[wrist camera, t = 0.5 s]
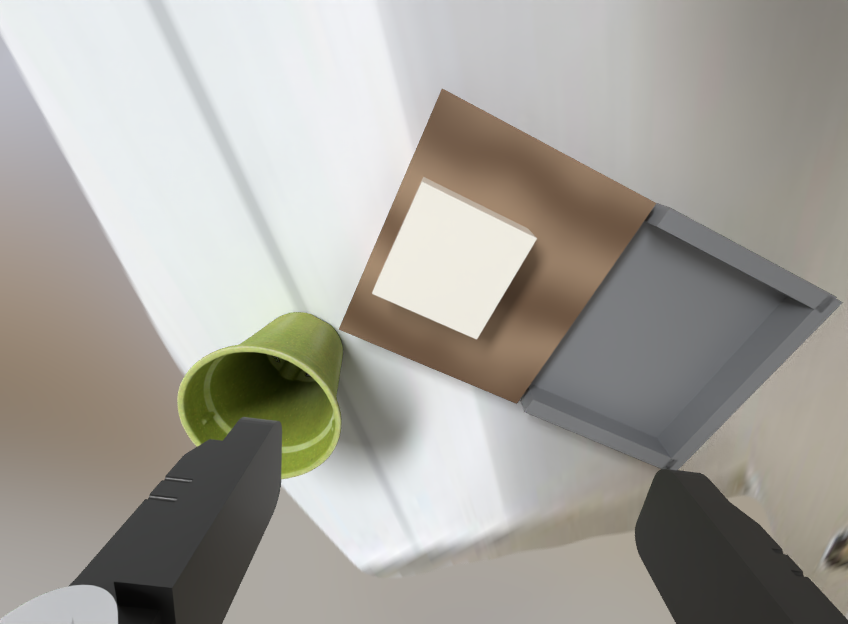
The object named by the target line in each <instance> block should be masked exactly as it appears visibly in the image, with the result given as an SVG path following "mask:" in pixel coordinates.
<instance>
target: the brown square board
mask: <svg viewBox="0 0 848 624" xmlns="http://www.w3.org/2000/svg"><path fill="white" fill-rule="evenodd" d="M423 177H425V178H427V179H429V180H431V181H433V182H435V183H437V184H439V185H441V186H443V187H445V188H447V189H449V190H451V191H453V192H455V193H457V194H459V195H461V196H463V197H465V198H467V199H469V200H471V201H473V202H476V203H478V204H480V205H482V206H484V207H486V208H488V209H490V210H492V211H494V212H496V213H498V214H500V215H502V216H504V217H506V218H508V219H510V220H512V221H514V222H516V223H518V224H520V225H522V226H524V227H526V228H528V229H529V230H530V231H531V232H532V233H533V235H534V236H535V237H536V238H537V240H536V241H535V243H534V245H533V246H532V248H531V250H530V251H529V253H528V255H527V256H526V258H525V260H524V261H523V263H522V265H521V266H520V268H519V270H518V271H517V273H516V275H515V276H514V278H513V280H512V281H511V283H510V285H509V286H508V288H507V290H506V292H505V293H504V295H503V297H502V298H501V300H500V302H499V303H498V305H497V307H496V308H495V310H494V312H493V313H492V315H491V317H490V318H489V320H488V322H487V323H486V325H485V327H484V328H483V330H482V332H481V333H480V335H479V337H478V338H477V339H474V338H472V337H470V336H467V335H465V334H463V333H461V332H458V331H456V330H454V329H451V328H449V327H447V326H445V325H442V324H440V323H438V322H435V321H433V320H431V319H429V318H426V317H424V316H422V315H419V314H417V313H415V312H413V311H410V310H408V309H406V308H404V307H401V306H399V305H397V304H394V303H392V302H390V301H388V300H385V299H383V298H381V297H378V296H376V295H374V294H372V292H373V289H374V287H375V284H376V282H377V279H378V277H379V275H380V272H381V270H382V268H383V266H384V263H385V261H386V259H387V257H388V255H389V252H390V250H391V248H392V246H393V243H394V241H395V239H396V237H397V234H398V232H399V230H400V228H401V225H402V223H403V221H404V219H405V217H406V214H407V212H408V210H409V208H410V205H411V203H412V201H413V199H414V196H415V194H416V192H417V190H418V187H419V185H420V183H421V181H422V179H423ZM655 205H656V203H655V202H653V201H651V200H649V199H647V198H646V197H644V196H642V195H640V194H638V193H636V192H634V191H633V190H631V189H629V188H627V187H625V186H623V185H621V184H619V183H618V182H616V181H614V180H612V179H610V178H608V177H606V176H605V175H603V174H601V173H599V172H597V171H595V170H593V169H591V168H590V167H588V166H586V165H584V164H582V163H580V162H578V161H577V160H575V159H573V158H571V157H569V156H567V155H565V154H563V153H562V152H560V151H558V150H556V149H554V148H552V147H550V146H549V145H547V144H545V143H543V142H541V141H539V140H537V139H536V138H534V137H532V136H530V135H528V134H526V133H524V132H522V131H521V130H519V129H517V128H515V127H513V126H511V125H509V124H508V123H506V122H504V121H502V120H500V119H498V118H496V117H494V116H493V115H491V114H489V113H487V112H485V111H483V110H481V109H480V108H478V107H476V106H474V105H472V104H470V103H468V102H466V101H465V100H463V99H461V98H459V97H457V96H455V95H453V94H452V93H450V92H448V91H446V90H444V89H442V90H441V92H440V95H439V97H438V99H437V102H436V104H435V106H434V109H433V111H432V113H431V116H430V118H429V120H428V123H427V125H426V127H425V130H424V132H423V134H422V137H421V139H420V141H419V144H418V146H417V148H416V151H415V153H414V155H413V158H412V160H411V162H410V165H409V167H408V169H407V172H406V174H405V176H404V179H403V181H402V183H401V186H400V188H399V190H398V193H397V195H396V197H395V200H394V202H393V204H392V207H391V209H390V211H389V214H388V216H387V218H386V221H385V223H384V225H383V228H382V230H381V232H380V235H379V237H378V239H377V242H376V244H375V246H374V249H373V251H372V253H371V256H370V258H369V260H368V263H367V265H366V267H365V270H364V272H363V274H362V277H361V279H360V281H359V284H358V286H357V288H356V291H355V293H354V295H353V298H352V300H351V302H350V305H349V307H348V309H347V312H346V314H345V316H344V318H343V321H342V323H341V325H340V328H339V330H342V331H344V332H346V333H349V334H351V335H353V336H356V337H358V338H361V339H363V340H365V341H368V342H370V343H373V344H375V345H377V346H380V347H382V348H385V349H387V350H389V351H392V352H394V353H397V354H399V355H401V356H404V357H406V358H409V359H411V360H413V361H416V362H418V363H420V364H423V365H425V366H428V367H430V368H432V369H435V370H437V371H440V372H442V373H444V374H447V375H449V376H452V377H454V378H456V379H459V380H461V381H464V382H466V383H468V384H471V385H473V386H476V387H478V388H480V389H483V390H485V391H488V392H490V393H492V394H495V395H497V396H499V397H502V398H504V399H507V400H509V401H511V402H514V403H516V404H517V403H518V401H519V400H520V398H521V397H522V396H523V394H524V393H525V391H526V390H527V388H528V387H529V386H530V384H531V383H532V381H533V380H534V378H535V377H536V375H537V374H538V373H539V371H540V370H541V368H542V367H543V365H544V364H545V363H546V361H547V360H548V358H549V357H550V355H551V354H552V353H553V351H554V350H555V348H556V347H557V345H558V344H559V342H560V341H561V340H562V338H563V337H564V335H565V334H566V332H567V331H568V330H569V328H570V327H571V325H572V324H573V322H574V321H575V319H576V318H577V317H578V315H579V314H580V312H581V311H582V309H583V308H584V307H585V305H586V304H587V302H588V301H589V299H590V298H591V297H592V295H593V294H594V292H595V291H596V289H597V288H598V286H599V285H600V284H601V282H602V281H603V279H604V278H605V276H606V275H607V274H608V272H609V271H610V269H611V268H612V266H613V265H614V263H615V262H616V261H617V259H618V258H619V256H620V255H621V253H622V252H623V251H624V249H625V248H626V246H627V245H628V243H629V242H630V241H631V239H632V238H633V236H634V235H635V233H636V232H637V230H638V229H639V228H640V226H641V225H642V223H643V222H644V220H645V219H646V218H647V216H648V215H649V213H650V212H651V210H652V209H653V207H654V206H655Z"/></svg>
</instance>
